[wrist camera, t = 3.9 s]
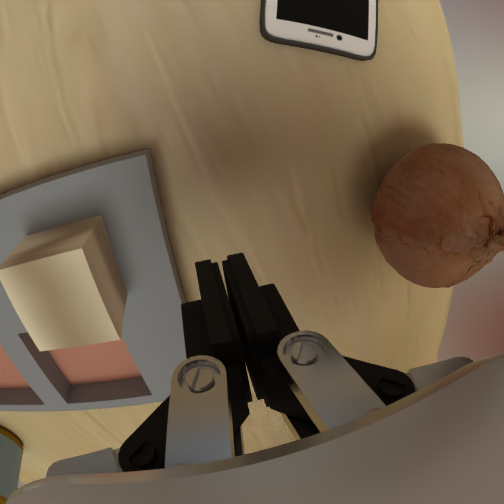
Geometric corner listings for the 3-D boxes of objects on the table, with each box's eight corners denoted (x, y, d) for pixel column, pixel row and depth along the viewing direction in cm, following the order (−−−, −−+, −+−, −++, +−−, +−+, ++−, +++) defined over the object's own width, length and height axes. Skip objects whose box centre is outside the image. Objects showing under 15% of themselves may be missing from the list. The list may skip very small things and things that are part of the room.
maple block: (101, 214, 15) (82, 248, 11) (127, 294, 17) (120, 339, 14) (26, 235, 14) (-4, 271, 10) (57, 307, 16) (39, 351, 13)
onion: (441, 133, 20) (545, 167, 11) (431, 238, 24) (512, 298, 16) (343, 132, 18) (463, 168, 10) (341, 259, 23) (422, 346, 14)
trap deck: (149, 148, 16) (137, 168, 11) (206, 370, 25) (217, 428, 19) (-98, 243, 12) (-134, 277, 7) (-11, 392, 21) (-25, 435, 16)
